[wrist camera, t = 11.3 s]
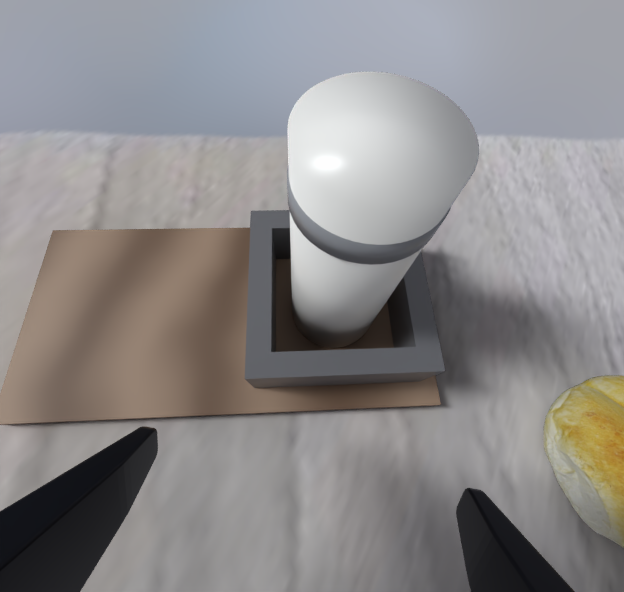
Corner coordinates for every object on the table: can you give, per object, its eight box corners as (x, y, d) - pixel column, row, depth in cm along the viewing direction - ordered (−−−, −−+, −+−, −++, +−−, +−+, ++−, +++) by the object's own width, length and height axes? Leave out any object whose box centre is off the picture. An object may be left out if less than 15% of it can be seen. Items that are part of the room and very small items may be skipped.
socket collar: (395, 241, 22) (412, 209, 19) (419, 381, 18) (445, 371, 15) (258, 243, 21) (250, 210, 18) (254, 388, 18) (244, 378, 15)
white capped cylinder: (390, 316, 20) (520, 150, 8) (326, 366, 18) (377, 248, 7) (337, 258, 21) (387, 50, 10) (274, 300, 20) (246, 113, 8)
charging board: (403, 231, 23) (406, 225, 22) (435, 405, 19) (440, 404, 18) (61, 237, 22) (52, 230, 21) (3, 424, 17) (-10, 424, 17)
